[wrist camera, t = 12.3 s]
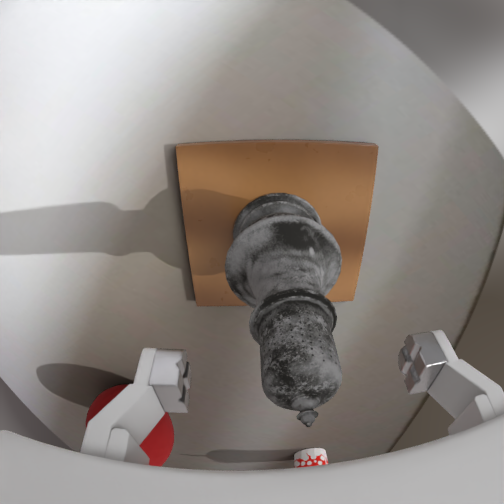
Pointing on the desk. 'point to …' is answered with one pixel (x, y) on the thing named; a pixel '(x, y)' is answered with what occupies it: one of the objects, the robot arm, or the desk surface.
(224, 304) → the trivet
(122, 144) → the desk surface
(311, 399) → the grey stone turned piece
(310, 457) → the beverage cup
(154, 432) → the apple
